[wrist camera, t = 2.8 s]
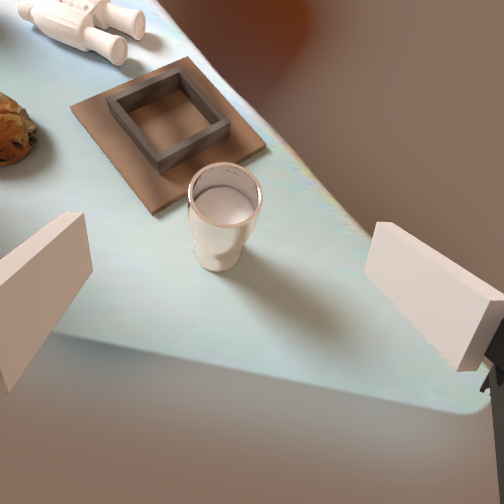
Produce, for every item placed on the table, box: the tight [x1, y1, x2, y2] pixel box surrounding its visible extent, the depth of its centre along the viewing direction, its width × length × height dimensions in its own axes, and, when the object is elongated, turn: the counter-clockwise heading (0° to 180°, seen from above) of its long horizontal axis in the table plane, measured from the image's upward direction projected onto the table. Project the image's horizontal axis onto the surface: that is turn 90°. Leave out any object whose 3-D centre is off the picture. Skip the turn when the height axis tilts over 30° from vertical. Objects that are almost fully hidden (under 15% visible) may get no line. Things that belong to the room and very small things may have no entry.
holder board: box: [70, 56, 266, 215], centre depth 44 cm, size 20×20×4 cm
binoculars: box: [18, 0, 146, 66], centre depth 48 cm, size 10×16×5 cm, turn 70°
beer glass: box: [187, 162, 263, 272], centre depth 34 cm, size 7×7×15 cm
